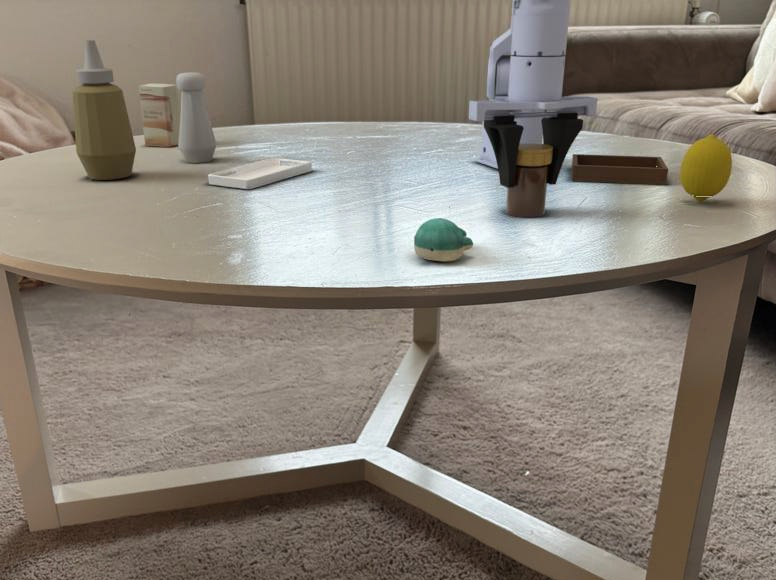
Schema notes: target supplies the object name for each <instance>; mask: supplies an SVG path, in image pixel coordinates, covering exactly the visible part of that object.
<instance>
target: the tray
mask: <svg viewBox="0 0 776 580" xmlns="http://www.w3.org/2000/svg"><path fill="white" fill-rule="evenodd" d="M656 166H657V167H656ZM668 174H669V168H668V166H667V165H666V163H665V161H664V160H663V158H662V157H661V156H646V155H645V156H641V155H640V156H639V155H614V154H613V155H612V154H586V153H585V154H583V153H581V154H580V153H579V154H578V153H573V154H572V160H571V182H582V183H583V182H585V183H586V182H587V183H609V184H632V185H633V184H634V185H635V184H636V185H656V186H657V185H660V186H666V185H667V180H668Z"/></svg>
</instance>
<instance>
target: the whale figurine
mask: <svg viewBox="0 0 776 580" xmlns="http://www.w3.org/2000/svg"><path fill="white" fill-rule="evenodd" d="M473 246H474V242H473V239H472V238H471V237H469V236H467V231H465V230H464V229H463V228H461V227H459V226H458V225H457V224H456V223H454V222H453V221H451V220H449V219H446V218H443V217H435V218H431V219H428V220H426V221H425V222H423V223H422V224H421V225H420V226H419V227H418V229H417V230H416V233H415V235H414V237H413V249H414V252H415V254H416V256H417V257H419V258H421V259H423V260H426V261H427V260H428V261H433V262H435V261H436V262H453V261H457V260H459V259H461V257H462V255H463V254H464V252H465V251H468V250H471V249H472V248H473Z"/></svg>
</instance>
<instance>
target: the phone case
mask: <svg viewBox="0 0 776 580" xmlns="http://www.w3.org/2000/svg"><path fill="white" fill-rule="evenodd" d="M282 162H291V163H301V164H297V165H294V166H293V165H286V164H285V165H284V164H282ZM312 165H313V164H312V161H308V160H300V159H289V158H282V157H281V158H278V157H271V158H267V159H262V160H258V161H255V162H250V163H247V164H243V165H239V166H235V167H231V168H227V169H223V170H220V171H215V172H212V173H209V174H208V175H207V178H208V185H212V186H220V187H226V188H227V187H229V188H234V189H236V188H237V189H242V190H252V189H256V188H260V187H262V186H265V185H269V184H273V183H276V182H279V181H283V180H285V179H290V178H293V177H296V176H299V175H302V174H307V173H310V172H312V171H313V167H312ZM232 172H234V173H232ZM229 173H232V174H229ZM224 174H228V175H224Z"/></svg>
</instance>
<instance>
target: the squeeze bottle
mask: <svg viewBox="0 0 776 580" xmlns="http://www.w3.org/2000/svg"><path fill="white" fill-rule="evenodd" d="M84 41H85V43H84V58H83V59H84V60H83V61H84V62H83V68H81V69H77V70H76V77H77V83H78V84H80V85H78V86H76V87H74V89H73V90H72V105H73V120H74V134H75V135H74V136H75V152H76V155H77V157H78V159H79V161H80V163H81V165H82V167H83V169H84V171H85V173H86V175H87V176H88V178H89V179H92V180H98V181H114V180H115V181H116V180H121V179H124V178H127V177H130V176H131V175H132V173H133V169H134V162H135V159H136V158H135V157H136V152H137V148H136V143H135V139H134V136H133V135H134V133H133V131H132V127H131V126H132V125H131V122H130V117H129V114H128V109H127V105H126V101H125V97H124V92H123V89H122V88H121V87H119V86H118V85H116V84H114V83H113V82H115V79H114V78H115V77H114V73H113V69H112V68H105V66H104V63H103V60H102V57H101V54H100V51H99V48H98V46H97V43H96V40H95V39H90V40H88V39H87V40H84Z"/></svg>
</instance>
